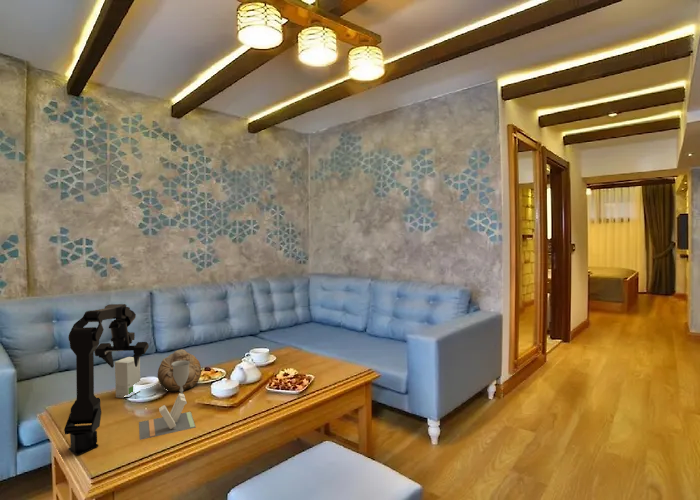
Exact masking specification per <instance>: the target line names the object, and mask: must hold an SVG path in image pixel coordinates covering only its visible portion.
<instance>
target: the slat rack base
mask: <svg viewBox="0 0 700 500" xmlns="http://www.w3.org/2000/svg"><path fill="white" fill-rule="evenodd" d="M186 402H187V400H186V397H185V394H184V393H183V394H180V392H178V395H177V397H176V398H175V401H174V404H173V406H172V407H171V410H170V412H169V413H170V415H171V416H172V418H173V420H174V421H175V424H176V426H175V427H173V428H172V429H170V428H169V426H168V425H167V423H166V421H165V420H164V418H163V416H162V417H158V418H152V419H147V420H142V421H138V429H139V431H138V432H139V441H142V440H145V439H150V438H155V437H159V436H164V435H167V434H173V433H176V432H181V431H186V430H187V431H188V430H191V429H194V428H196V424H195V421H194V417H193V415H192V412H191V411H188V412H186V411H185V412H183V410H184V407H185V405H186V404H185V403H186Z"/></svg>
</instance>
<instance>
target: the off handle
mask: <svg viewBox="0 0 700 500" xmlns="http://www.w3.org/2000/svg"><path fill="white" fill-rule="evenodd" d="M158 410H159V414H160V415H161V416H162V417H163V418H164V420H165V421H166V423H167V425H168V426H169V428H170V429H172V428H173V427H175V426H176V424H175V421H174V420H173V418H172V416H171V415H170V412H169V410H168V407H167V406H166V405H165V404H164V405H162V406H161V407H159V408H158Z"/></svg>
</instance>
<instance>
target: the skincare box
mask: <svg viewBox="0 0 700 500" xmlns="http://www.w3.org/2000/svg"><path fill="white" fill-rule="evenodd" d="M114 375H115V379H114V381H115V398H121V399H125V398H124V396H125V395H128V394H130V393H131V392H133V385H134V384H135V383H137V382H139V381H141V357H140V358H139V362H138V365H137V367H135V363H134V357H132V356H127V357H124V358H120V359H119V360H116V361H114Z"/></svg>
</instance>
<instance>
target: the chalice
mask: <svg viewBox="0 0 700 500" xmlns="http://www.w3.org/2000/svg"><path fill="white" fill-rule="evenodd" d="M189 364H190V361H186V360H181V361H176V362H173V363H172V366H173V377H174V379H175V381H176V383H177V385H178V386H180V390H179V391H180V392H179V393H180V394H184V393H183V392H184V391H183V385H185V383H186V381H187V379H188V376H189ZM186 404H188V402H187V401H186V403H185V405H186Z"/></svg>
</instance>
